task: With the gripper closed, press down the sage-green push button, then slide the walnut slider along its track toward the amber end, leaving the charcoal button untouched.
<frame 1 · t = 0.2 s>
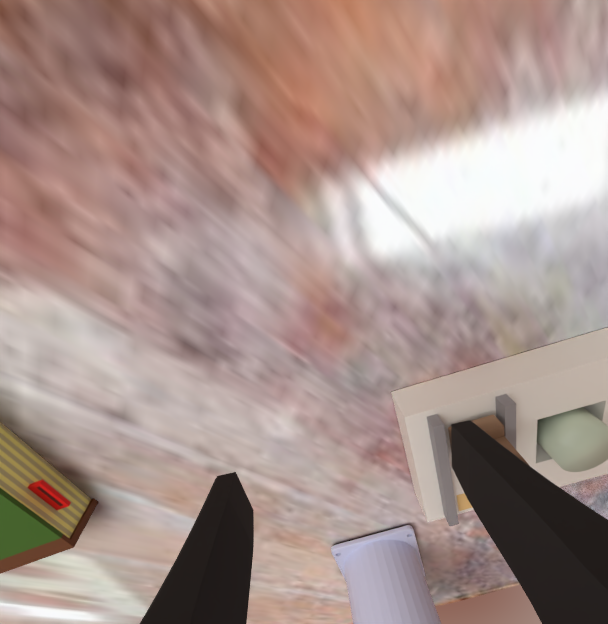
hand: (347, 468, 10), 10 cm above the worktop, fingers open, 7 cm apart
sage button: (572, 436, 21), point 3 cm above the worktop, slide at 0.0 cm
control panel: (541, 408, 24), on the worktop
walnut slider: (488, 459, 19), point 5 cm above the worktop, slide at 0.0 cm
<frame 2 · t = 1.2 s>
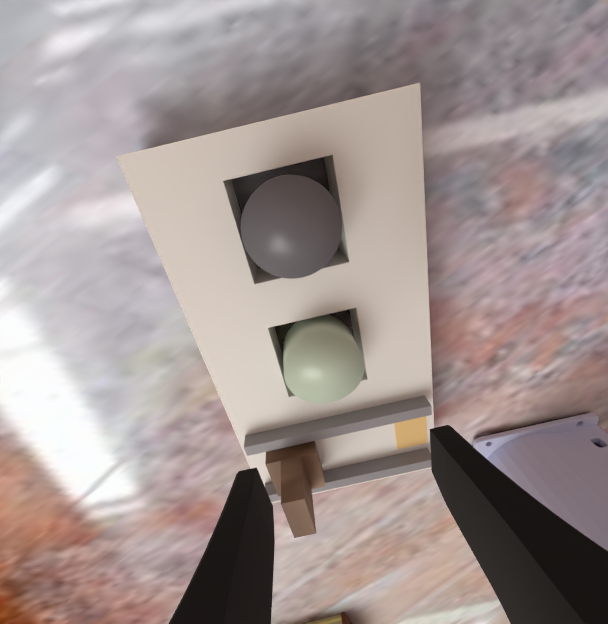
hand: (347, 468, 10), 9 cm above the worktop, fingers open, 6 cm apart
sage button: (321, 358, 16), point 3 cm above the worktop, slide at 0.0 cm
control panel: (315, 332, 19), on the worktop
walnut slider: (297, 487, 17), point 5 cm above the worktop, slide at 0.0 cm
charcoal button: (290, 225, 13), point 3 cm above the worktop, slide at 0.0 cm
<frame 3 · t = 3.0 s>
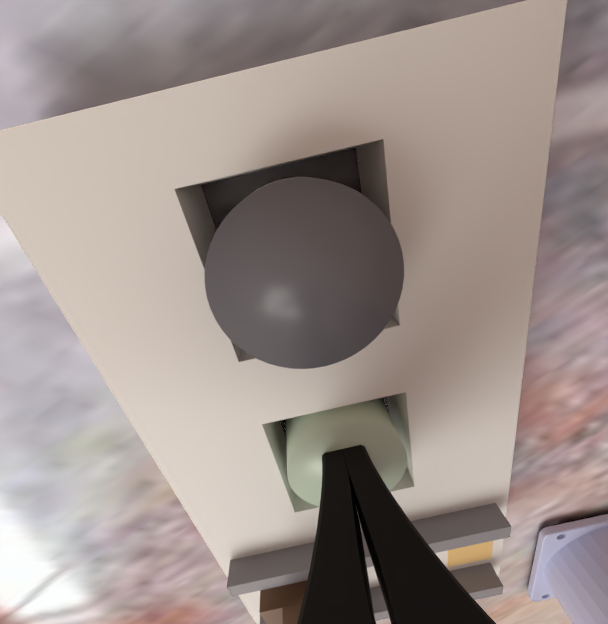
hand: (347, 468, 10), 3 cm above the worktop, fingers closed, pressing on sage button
sage button: (340, 440, 11), point 2 cm above the worktop, slide at 1.0 cm, touching gripper
control panel: (333, 407, 13), on the worktop
charcoal button: (302, 269, 7), point 3 cm above the worktop, slide at 0.0 cm
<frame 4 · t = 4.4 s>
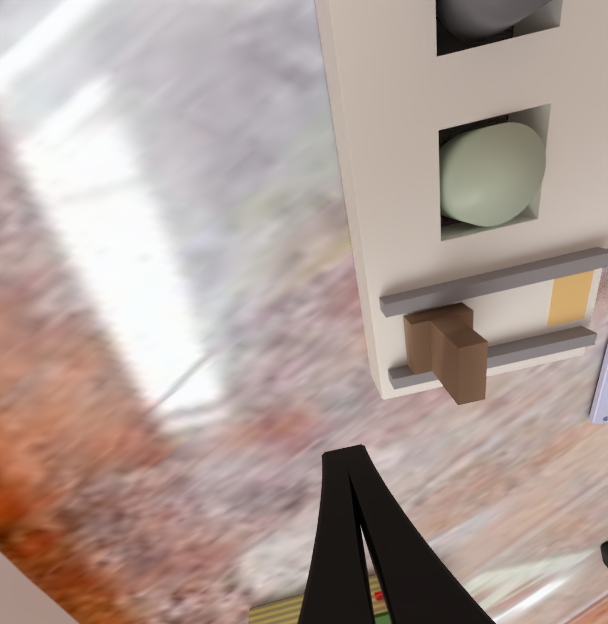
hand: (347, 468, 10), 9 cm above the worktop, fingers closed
sage button: (481, 177, 14), point 2 cm above the worktop, slide at 1.1 cm
control panel: (460, 176, 15), on the worktop
walnut slider: (450, 352, 14), point 5 cm above the worktop, slide at 0.0 cm
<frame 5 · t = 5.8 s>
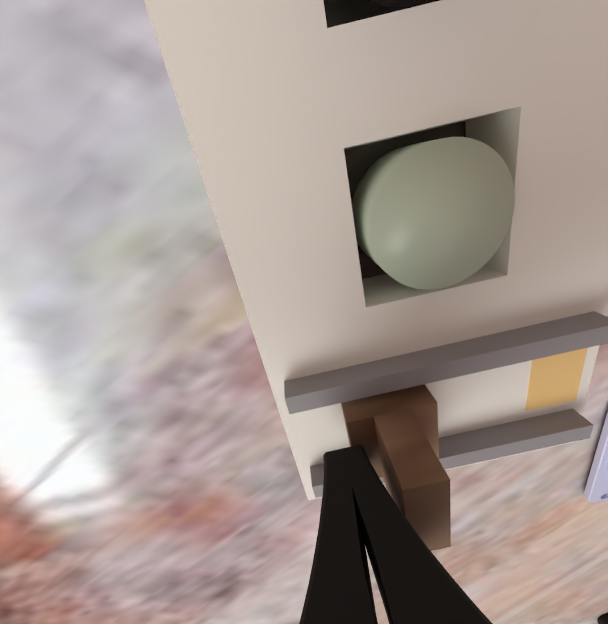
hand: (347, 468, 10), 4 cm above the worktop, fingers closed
sage button: (423, 215, 9), point 2 cm above the worktop, slide at 1.1 cm
control panel: (401, 208, 11), on the worktop
walnut slider: (403, 463, 10), point 5 cm above the worktop, slide at 0.8 cm, touching gripper
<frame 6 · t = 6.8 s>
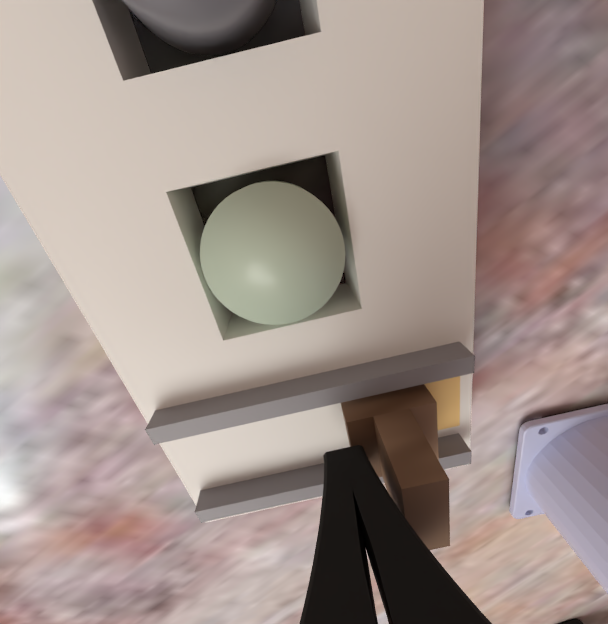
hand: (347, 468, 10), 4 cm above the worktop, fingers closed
sage button: (274, 250, 10), point 2 cm above the worktop, slide at 1.1 cm
control panel: (274, 239, 11), on the worktop
walnut slider: (403, 463, 10), point 5 cm above the worktop, slide at 5.5 cm, touching gripper
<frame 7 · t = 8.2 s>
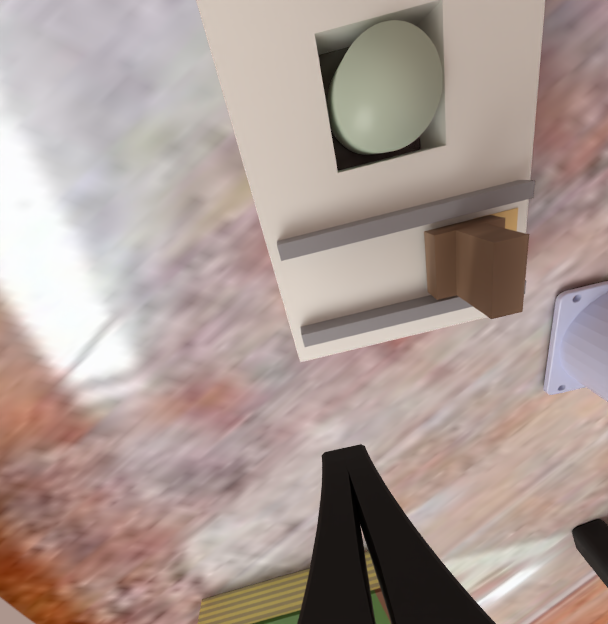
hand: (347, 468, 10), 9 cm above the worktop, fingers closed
sage button: (379, 98, 12), point 2 cm above the worktop, slide at 1.1 cm
control panel: (368, 106, 14), on the worktop
hardcover book: (322, 615, 35), on the worktop
walnut slider: (480, 265, 13), point 5 cm above the worktop, slide at 5.5 cm
walkie-talkie: (585, 531, 31), on the worktop
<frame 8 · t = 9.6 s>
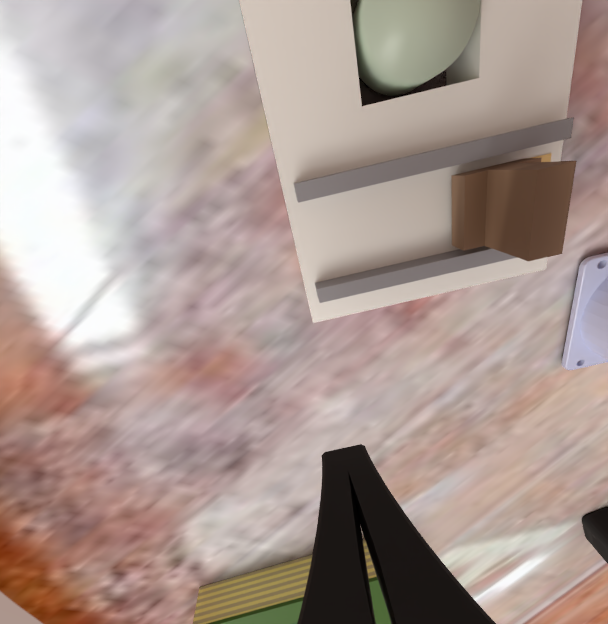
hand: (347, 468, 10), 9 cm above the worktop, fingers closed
sage button: (408, 24, 11), point 2 cm above the worktop, slide at 1.1 cm
control panel: (392, 42, 13), on the worktop
hardcover book: (323, 605, 34), on the worktop
walnut slider: (513, 208, 12), point 5 cm above the worktop, slide at 5.5 cm
walkie-talkie: (595, 519, 30), on the worktop
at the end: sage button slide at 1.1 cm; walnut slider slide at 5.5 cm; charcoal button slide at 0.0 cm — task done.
